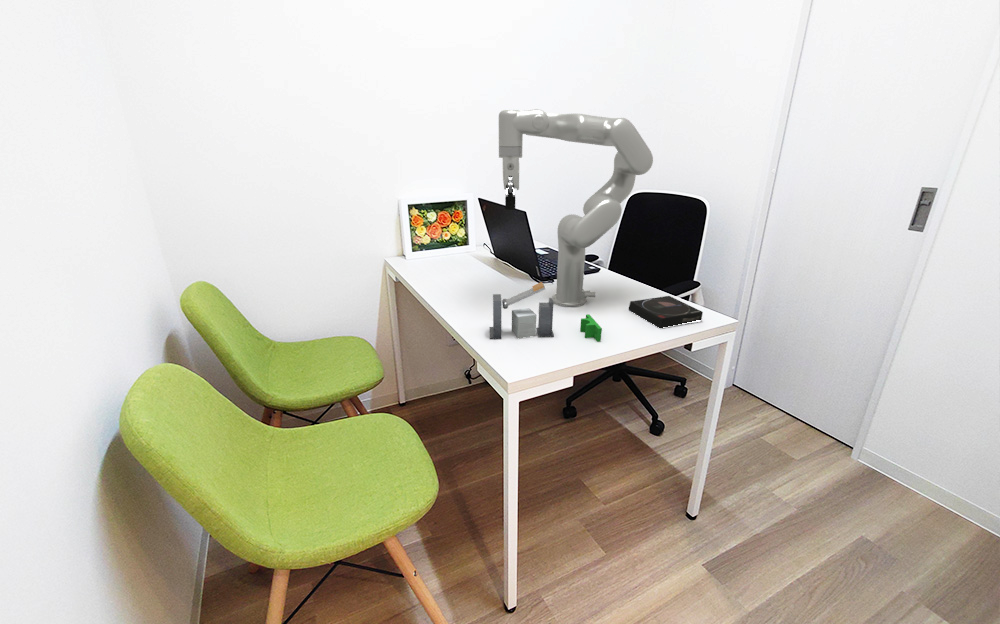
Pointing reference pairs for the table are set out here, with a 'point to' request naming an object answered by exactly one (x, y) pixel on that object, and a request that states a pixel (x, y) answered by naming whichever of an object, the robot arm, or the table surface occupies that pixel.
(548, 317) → the lug block
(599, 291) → the table surface
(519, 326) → the product box
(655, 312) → the portable cd player
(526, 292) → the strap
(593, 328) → the pipe clamp
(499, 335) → the hinge post
